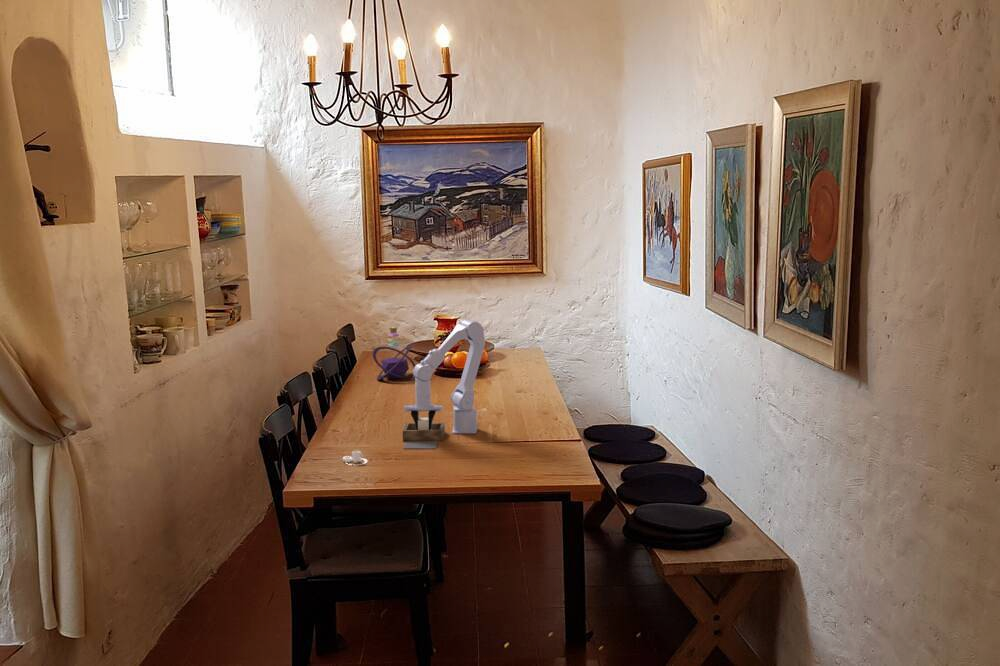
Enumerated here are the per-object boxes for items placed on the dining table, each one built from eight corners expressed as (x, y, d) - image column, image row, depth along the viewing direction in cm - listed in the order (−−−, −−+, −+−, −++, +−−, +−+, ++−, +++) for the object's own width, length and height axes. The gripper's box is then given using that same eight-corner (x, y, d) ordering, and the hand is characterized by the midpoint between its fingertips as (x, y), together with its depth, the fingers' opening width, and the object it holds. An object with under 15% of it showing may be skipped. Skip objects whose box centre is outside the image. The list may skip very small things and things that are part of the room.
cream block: (429, 430, 353) (429, 417, 352) (428, 433, 349) (428, 420, 348) (419, 430, 353) (419, 417, 352) (418, 433, 349) (417, 420, 348)
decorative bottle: (372, 373, 456) (370, 324, 451) (414, 371, 460) (413, 322, 455) (374, 384, 434) (372, 332, 429) (418, 381, 438) (417, 330, 433)
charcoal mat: (437, 442, 344) (437, 441, 344) (435, 449, 337) (435, 448, 337) (406, 442, 345) (406, 441, 345) (403, 449, 337) (403, 448, 337)
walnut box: (444, 432, 357) (444, 422, 356) (442, 441, 346) (442, 430, 345) (406, 432, 357) (406, 422, 356) (402, 441, 346) (402, 431, 346)
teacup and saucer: (339, 462, 324) (338, 451, 323) (357, 457, 329) (357, 446, 329) (353, 468, 318) (353, 457, 317) (372, 462, 323) (371, 451, 323)
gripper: (442, 392, 352) (443, 426, 355) (405, 392, 353) (406, 426, 355) (441, 397, 345) (442, 431, 348) (403, 397, 346) (404, 431, 348)
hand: (423, 429), depth 351 cm, fingers closed on cream block, 4 cm apart
